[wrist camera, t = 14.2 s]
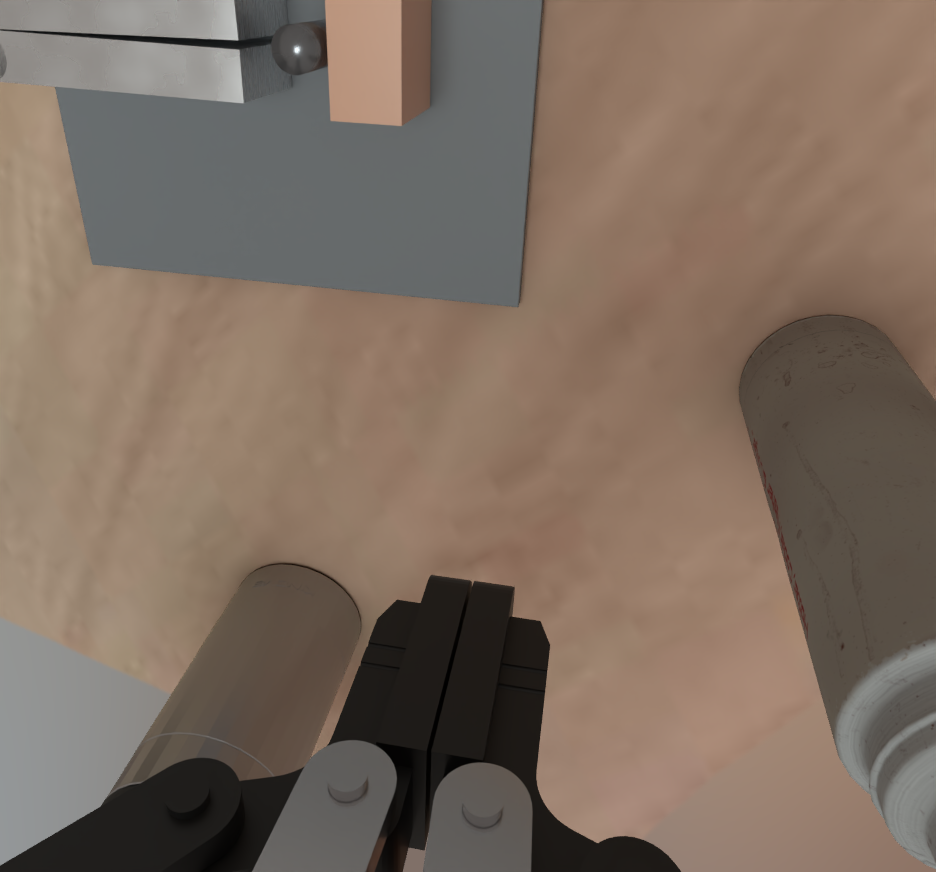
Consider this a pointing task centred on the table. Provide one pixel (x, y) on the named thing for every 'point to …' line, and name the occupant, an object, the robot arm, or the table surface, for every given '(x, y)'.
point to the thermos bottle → (858, 546)
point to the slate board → (326, 173)
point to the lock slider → (378, 60)
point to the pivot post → (301, 47)
